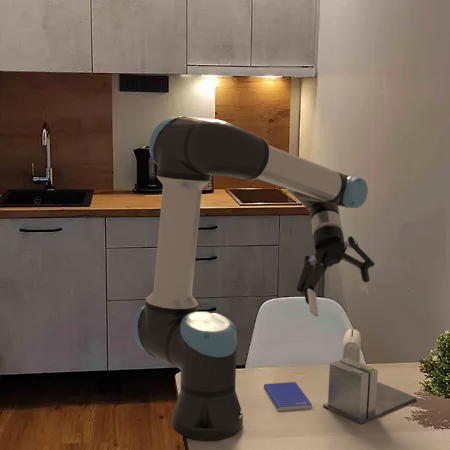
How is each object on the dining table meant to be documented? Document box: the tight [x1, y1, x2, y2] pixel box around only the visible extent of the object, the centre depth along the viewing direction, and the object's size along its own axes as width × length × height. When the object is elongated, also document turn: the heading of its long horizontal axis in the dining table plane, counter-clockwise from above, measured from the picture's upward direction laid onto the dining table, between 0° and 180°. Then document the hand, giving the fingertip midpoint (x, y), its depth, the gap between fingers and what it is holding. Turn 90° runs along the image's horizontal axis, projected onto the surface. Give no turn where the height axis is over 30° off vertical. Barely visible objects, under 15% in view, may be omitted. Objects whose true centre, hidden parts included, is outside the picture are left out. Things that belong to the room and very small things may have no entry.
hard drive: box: [263, 381, 313, 412], centre depth 168 cm, size 2×8×12 cm
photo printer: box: [341, 328, 362, 363], centre depth 178 cm, size 10×4×12 cm, turn 168°
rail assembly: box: [322, 358, 417, 425], centre depth 164 cm, size 20×11×11 cm, turn 130°
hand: (339, 304), depth 169 cm, fingers open, 13 cm apart
